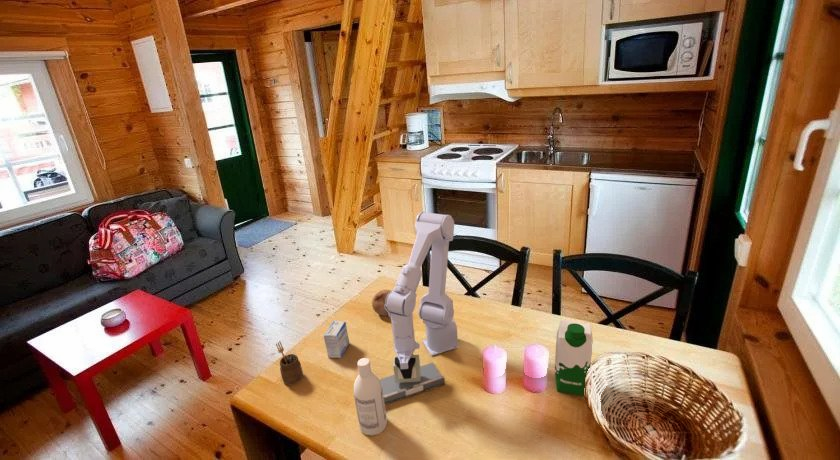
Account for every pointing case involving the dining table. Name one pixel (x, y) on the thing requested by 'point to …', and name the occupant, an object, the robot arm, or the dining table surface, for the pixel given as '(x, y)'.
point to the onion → (380, 302)
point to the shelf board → (411, 384)
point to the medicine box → (336, 339)
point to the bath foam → (369, 400)
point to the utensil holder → (290, 367)
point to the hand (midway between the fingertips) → (407, 371)
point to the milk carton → (572, 356)
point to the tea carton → (415, 372)
